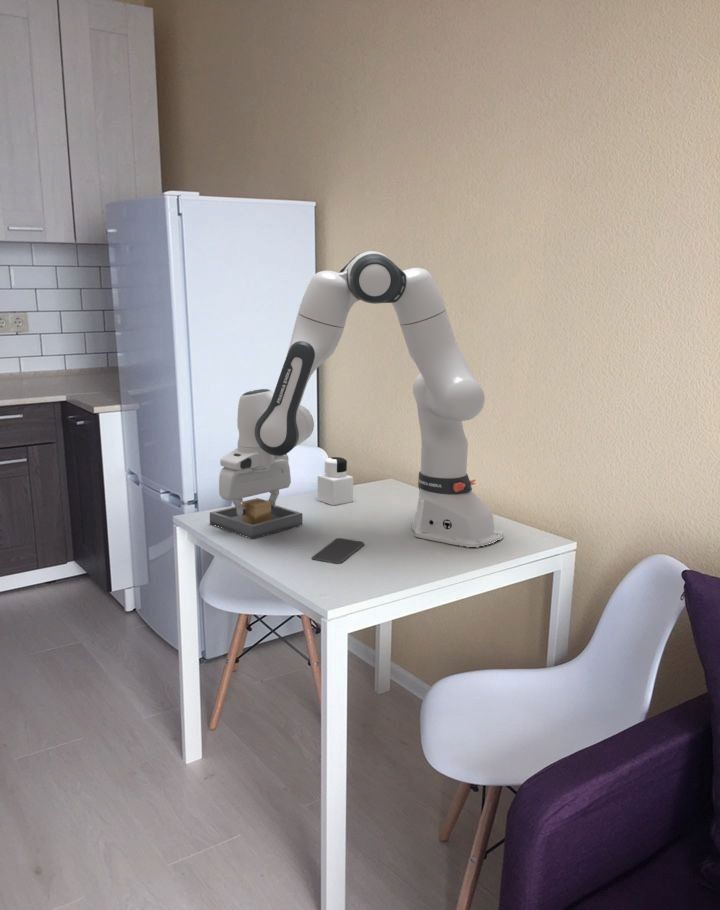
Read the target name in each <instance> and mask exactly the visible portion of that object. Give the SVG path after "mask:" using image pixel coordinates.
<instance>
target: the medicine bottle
mask: <svg viewBox="0 0 720 910" xmlns="http://www.w3.org/2000/svg"><path fill="white" fill-rule="evenodd" d="M347 471H348V461H347V459H345V458H343V457H341V456H332V457H328V458H326V459H325V460H324V473H322V474H318V475H317V501H319V502H322V503H325V504H328V505H330V506H337V505H343V504H348V503H352V502H354V476H352V475H349V474H347Z"/></svg>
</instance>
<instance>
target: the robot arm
mask: <svg viewBox="0 0 720 910" xmlns="http://www.w3.org/2000/svg"><path fill="white" fill-rule="evenodd" d="M359 301H363V303H364V302H365V303H369V304H373V305H374V304H377V305H378V304H391V305H392V306H393V308H394V309H393V310H394V311H395V313H396V316H397V319H398V322H399V325H400V329H401V332H402V335H403V337H404V341H405V345H406V347H407V350H408V354H409V356H410V358H411V359H412V360H413V362H414V364H415V365H416V367H417V369H418V370H419V374H418V375H417V376H416V378H414V379H415V380H414V381H413V384H412V394H413V397H414V399H415V402H416V408H417V416H418V422H419V429H420V439H421V450H420V452H421V453H420V454H421V455H420V471H419V472H418V481H417V487H418V500H417V505H416V511H415V516H414V519H413V523H412V525H411V529H412V531H413V532H414V537H416V538H420V539H424V540H429V541H434V542H439V543H445V544H450V545H454V546H458V545H459V546H458V547H463V546H466V547H465V548H469V547H476V548H478V547H477V546H482V545H486V544H489V543H492V542H494V541H496V540H498V539H500V538H501V537H502V536H503V537H504V532H503V531H501V530H498V529H495V522H494V515H493V512H492V510H491V509H490V508H489V507H488V506H487V505H486V504H485V503H484V502H483V501H482V500H481V499H480V498H479V497H478V496H477V495H476V494H475V493H474V492H473V488H472V486H473V485H476V482H475V481H476V479H471V480H470V477H469V475H468V473H467V472H468V471H467V465H468V450H469V449H468V447H469V443H468V439H467V437H466V434H465V431H464V425H463V422H465V421H469V420H473V419H474V418H475V417H477V416H478V415H479V414H480V413H481V411H482V410H483V408H484V405H485V398H486V397H485V392H484V390H483V387H482V386H481V385H480V384H479V383H478V381H477V380H476V379H475V377H474V375H473V372H472V370H471V369H470V366H469V365H468V363H467V360H466V359H465V356H464V354H463V352H462V351H461V349H460V347H459V344H458V342H457V341H456V338H455V335H454V331H453V328H452V325H451V321H450V318H449V315H448V313H447V309H446V306H445V302H444V300H443V298H442V294H441V292H440V290H439V288H438V286H437V283H436V282H435V279H434V278H433V275H431V273H430V272H429V271H428V270H427V269H425V268H423V267H412V268H411V267H410V268H407V269H405V270H402V269H401V268H400V267H399V266H397V265H396V264H395V263H394V261H392V260H391V259H390V258H389V257H388V256H387V255H385V254H384V253H382V252H379V251H374V250H369V251H368V250H367V251H362V252H360V253H358V254H357V255H355V256H354V257H353V258H351V260H350V261H349V262H348V263H347V264H346V265H344V267H343V268H342V269H341V270H340V271H339V272H337V271H334V270H322V271H318V272H316V273H315V274H314V275H313V276H312V278H311V279H310V281H309V283H308V285H307V287H306V289H305V292H304V294H303V297H302V299H301V303H300V304H299V308H298V312H297V315H296V320H295V322H294V325H293V326H294V327H293V331H292V335H291V338H290V339H291V340H290V343H289V347H288V349H287V353H286V356H285V360H284V363H283V365H282V368H281V372H280V374H279V377H278V379H277V383H276V386H275V389H274V392H273V390H271V389H269V388H260V389H255V390H249V391H246V392H245V393H243V394H242V395H241V396H240V397H239V398H238V399H239V400H238V407H237V419H236V420H237V430H238V439H237V448H235V449H233V450H232V451H231V452H229V453H227V454H225V455H224V456H221V458H220V461H219V464H220V466H221V467H223V468H222V469H221V470H220V472H219V477H218V480H219V481H218V493H219V497H221V499H223V500H226V501H229V502H232V503H233V505H234V507H236V508H237V515H239V516H243V515H246V508H243V507H242V502H243V501H244V500H243V499H245V498H249V497H254V496H257V495H261V494H267V493H269V494H270V495H269V498H268V500H266V501H269V502H271V508H275V505H276V502H277V499H278V497H279V495H280V490H283V489H284V490H285V489H288V488H289V487H290V486H291V483H292V481H291V480H292V479H291V478H292V477H291V469H290V464H289V455H288V453H290V452H291V451H293V449H294V448H296V447H297V446H300V445H301V444H302V443H303V442H305V441H306V440H307V439H308V438H310V437H311V435H312V434H313V431H314V428H315V424H314V423H315V421H314V418H313V415H312V414H311V412H310V411H309V410H308V409H307V408H306V407H304V406H303V405H301V404H302V403H301V402H302V400H303V397H304V395H305V390H306V388H307V385H308V382H309V381H310V378H311V377H312V375H313V374H314V372H315V371H316V370H317V369H318V368H319V367H320V366H321V365H322V364H324V363H325V361H326V360H328V359H329V358H330V357H331V356H332V355H333V354H334V353H335V351H336V348H337V347H338V345H339V343H340V341H341V338H342V336H343V332H344V329H345V326H346V323H347V319H348V318H347V317H348V316H349V312H350V310H351V308H352V307H353V306H354V305H355V303H357V302H359ZM498 535H499V536H498Z"/></svg>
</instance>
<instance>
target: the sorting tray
mask: <svg viewBox="0 0 720 910" xmlns="http://www.w3.org/2000/svg"><path fill="white" fill-rule="evenodd" d="M211 524H213V525H212V526H214V525H216V526H215V527H217V526H219V527H222V528H224V529H223V530H225V529H227V530H226V531H228V530H230V531H229V532H231V531H233V532H232V533H234V532H236V533H235V534H237V533H238V534H237V535H240V534H241V535H240V536H242V535H244V536H243V537H245V536H247V537H246V538H248V537H250V538H249V539H251V538H252V540H254V539H258V538H261V537H264V536H263V535H265V536H267V534H269V535H271V533H272V534H276V533H279V532H282V531H286V530H289V529H293V527H294V528H297V527H300V525H301V526H303V512H299V511H296V510H292V509H289V508H286V507H282V506H279V505H276V504H275V508H271V520H269V521H265V522H262V523H258V524H254V525H252V524H249V523H246V522H243V521H242V516H239V515H237V508H236V507H235V506H231V507H227V508H223V509H219V510H214V511H211V512H209V525H211ZM219 527H218V528H219ZM222 528H221V529H222ZM275 532H276V533H275ZM260 536H261V537H260ZM257 537H258V538H257ZM253 538H254V539H253Z"/></svg>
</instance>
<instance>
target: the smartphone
mask: <svg viewBox="0 0 720 910" xmlns="http://www.w3.org/2000/svg"><path fill="white" fill-rule="evenodd" d="M364 546H365V542H364V541H360V540H353V539H348V538H342V537H341V538H340V537H339V538H335V539H333V540H332V541H331V542H330V543H328V544H327V545H325V546H324V547H323V548H322V549H320V550H319V551H318V552H317V553H315V554H313V556H311V560H312V561H315V562H316V561H317V562H322V563H323V562H324V563H328V564H336V565H342V564H343V563H344V562H346V561H347V560H349V559H350V558H351V557H352V556H353V555H354V554H356V553H357V552H359V550H361V549H362V548H364Z"/></svg>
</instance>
